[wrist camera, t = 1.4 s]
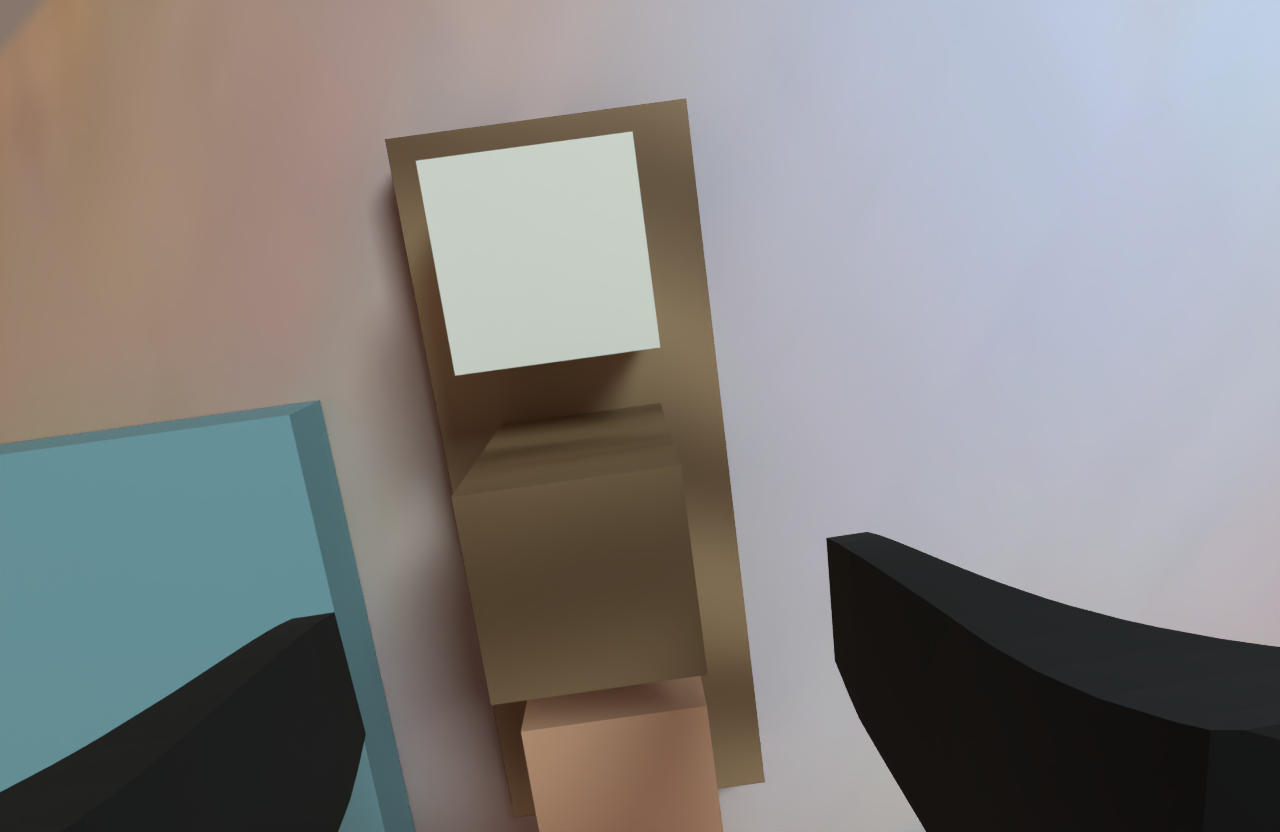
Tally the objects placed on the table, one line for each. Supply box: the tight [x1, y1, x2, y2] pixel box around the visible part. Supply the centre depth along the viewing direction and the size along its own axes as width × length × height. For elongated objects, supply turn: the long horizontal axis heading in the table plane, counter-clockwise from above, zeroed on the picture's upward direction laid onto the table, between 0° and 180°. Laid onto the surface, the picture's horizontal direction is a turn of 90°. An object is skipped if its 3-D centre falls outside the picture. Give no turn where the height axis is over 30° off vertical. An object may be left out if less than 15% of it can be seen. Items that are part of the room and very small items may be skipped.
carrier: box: [385, 99, 765, 817], centre depth 18 cm, size 18×7×8 cm, turn 8°
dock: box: [0, 401, 415, 832], centre depth 22 cm, size 20×11×2 cm, turn 8°
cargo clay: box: [521, 676, 723, 832], centre depth 19 cm, size 4×4×4 cm
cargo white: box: [416, 131, 660, 376], centre depth 16 cm, size 4×4×4 cm
